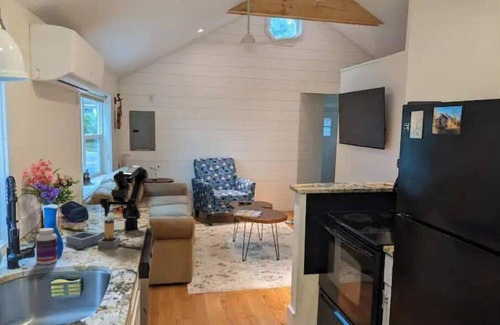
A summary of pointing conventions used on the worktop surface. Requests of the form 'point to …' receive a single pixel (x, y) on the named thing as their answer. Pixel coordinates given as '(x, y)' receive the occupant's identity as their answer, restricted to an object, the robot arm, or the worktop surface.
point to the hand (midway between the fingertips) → (114, 217)
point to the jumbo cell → (109, 230)
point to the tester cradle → (108, 243)
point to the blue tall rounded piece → (42, 217)
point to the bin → (82, 239)
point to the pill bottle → (46, 246)
